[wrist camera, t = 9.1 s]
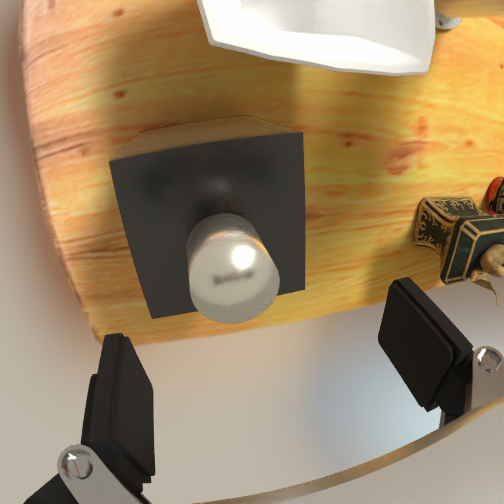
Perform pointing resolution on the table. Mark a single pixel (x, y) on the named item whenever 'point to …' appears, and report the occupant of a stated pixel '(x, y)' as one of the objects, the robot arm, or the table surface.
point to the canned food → (496, 196)
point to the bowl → (327, 32)
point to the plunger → (230, 269)
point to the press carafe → (209, 198)
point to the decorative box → (462, 239)
